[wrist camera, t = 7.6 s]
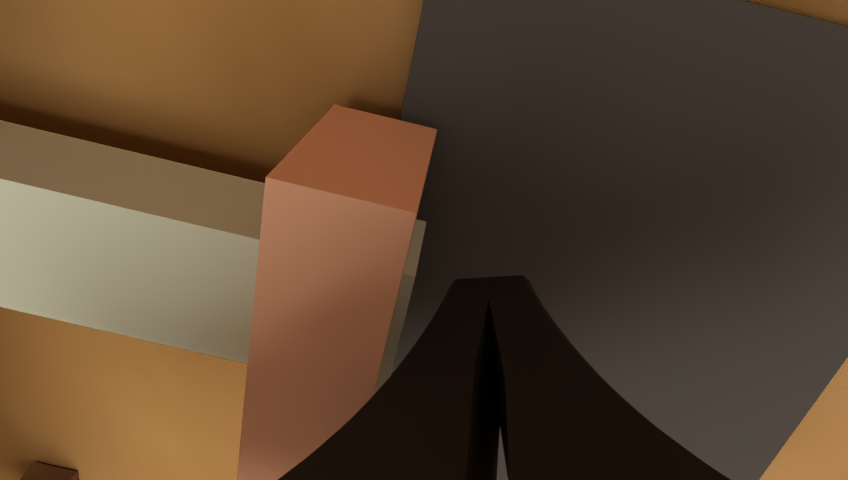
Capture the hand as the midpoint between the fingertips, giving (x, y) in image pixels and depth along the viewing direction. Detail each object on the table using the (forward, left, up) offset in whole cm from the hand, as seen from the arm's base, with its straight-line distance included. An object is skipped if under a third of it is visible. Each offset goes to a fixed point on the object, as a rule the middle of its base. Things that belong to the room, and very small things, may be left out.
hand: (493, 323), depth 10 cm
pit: (-3, 0, -2) cm, 3 cm away
